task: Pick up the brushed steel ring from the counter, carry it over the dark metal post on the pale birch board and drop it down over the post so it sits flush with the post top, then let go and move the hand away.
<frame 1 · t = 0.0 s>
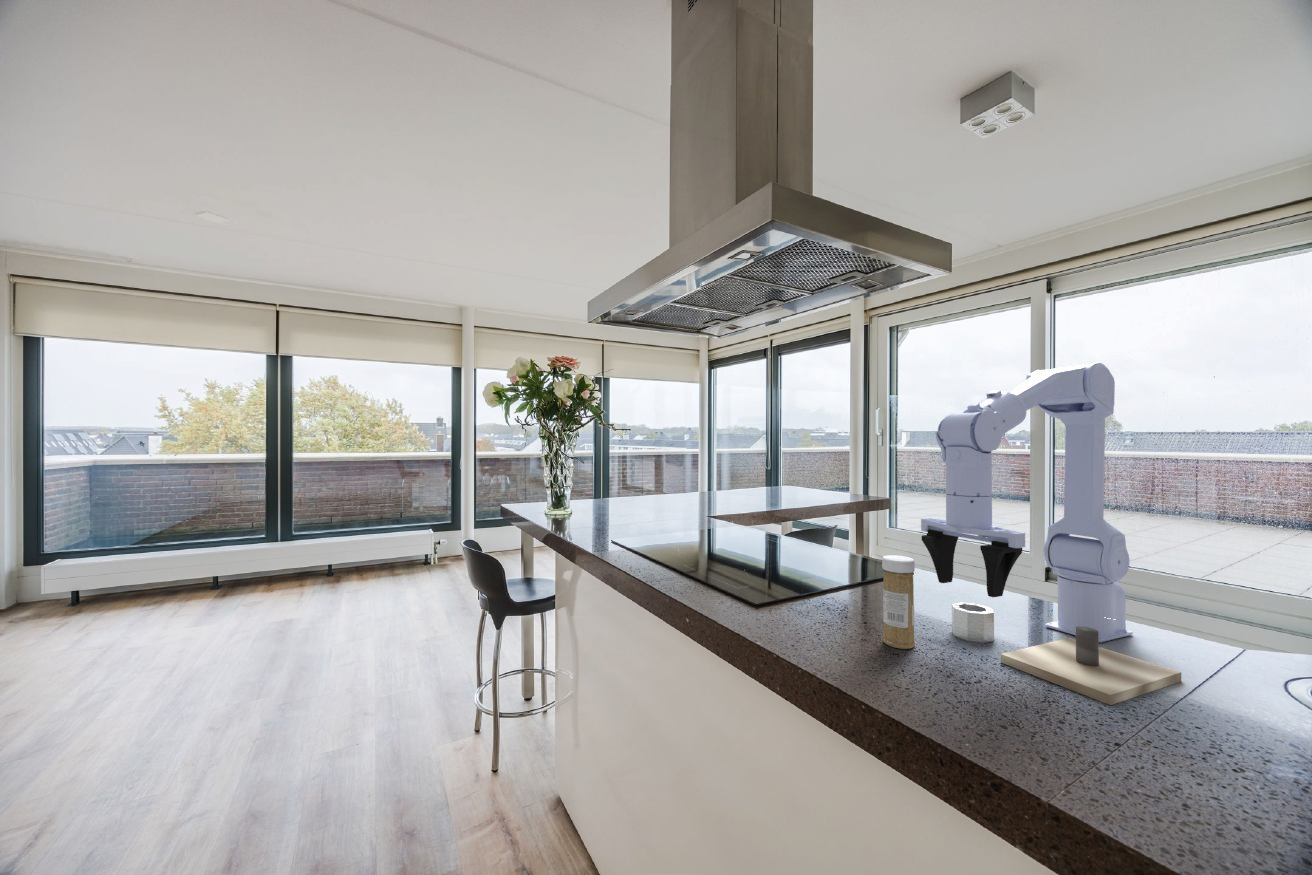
hand: (969, 588, 74), 10 cm above the countertop, tool pointing down, fingers open, 7 cm apart
post board: (1087, 671, 70), on the countertop
steel ring: (972, 635, 83), on the countertop
sprinkles bottle: (898, 645, 80), on the countertop
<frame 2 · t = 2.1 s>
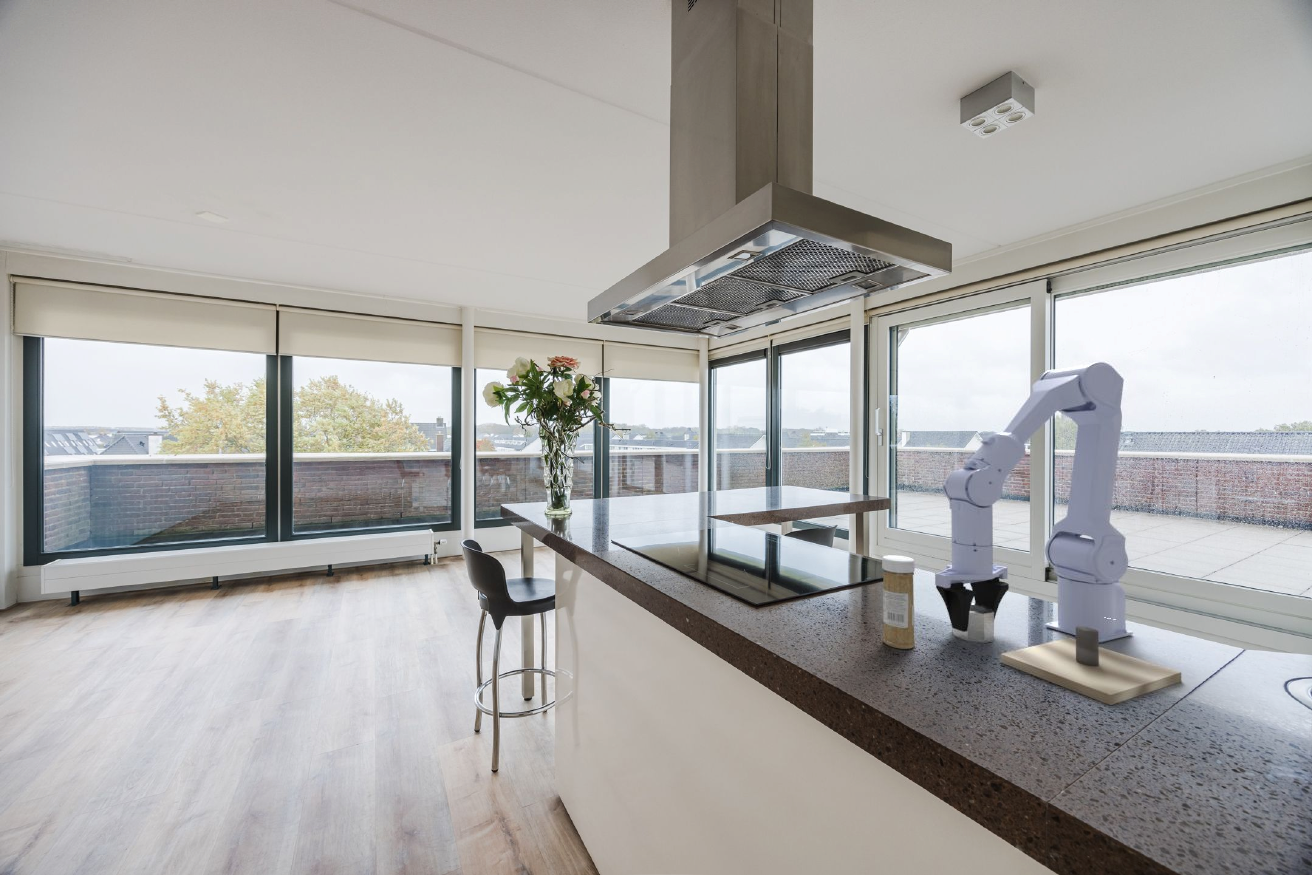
hand: (972, 626, 83), 1 cm above the countertop, tool pointing down, fingers closed on steel ring, 5 cm apart
steel ring: (972, 635, 83), on the countertop, touching gripper
everything else where it was.
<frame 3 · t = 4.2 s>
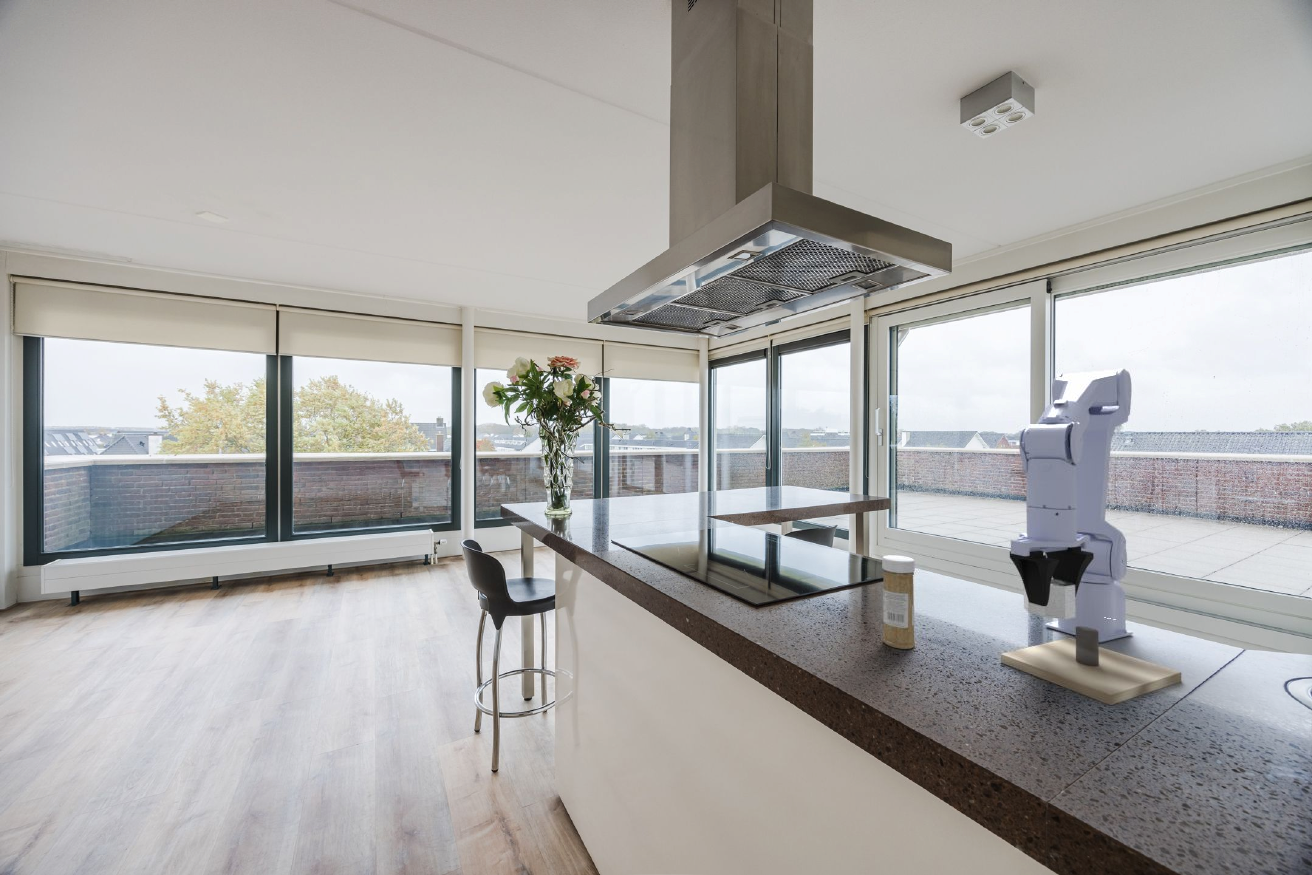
hand: (1051, 601, 74), 8 cm above the countertop, tool pointing down, fingers closed on steel ring, 5 cm apart
steel ring: (1049, 612, 74), point 7 cm above the countertop, touching gripper
everything else where it was.
when the fingers open (4 cm above the countertop, at t = 6.7 s): steel ring drops 2 cm, resting on post board.
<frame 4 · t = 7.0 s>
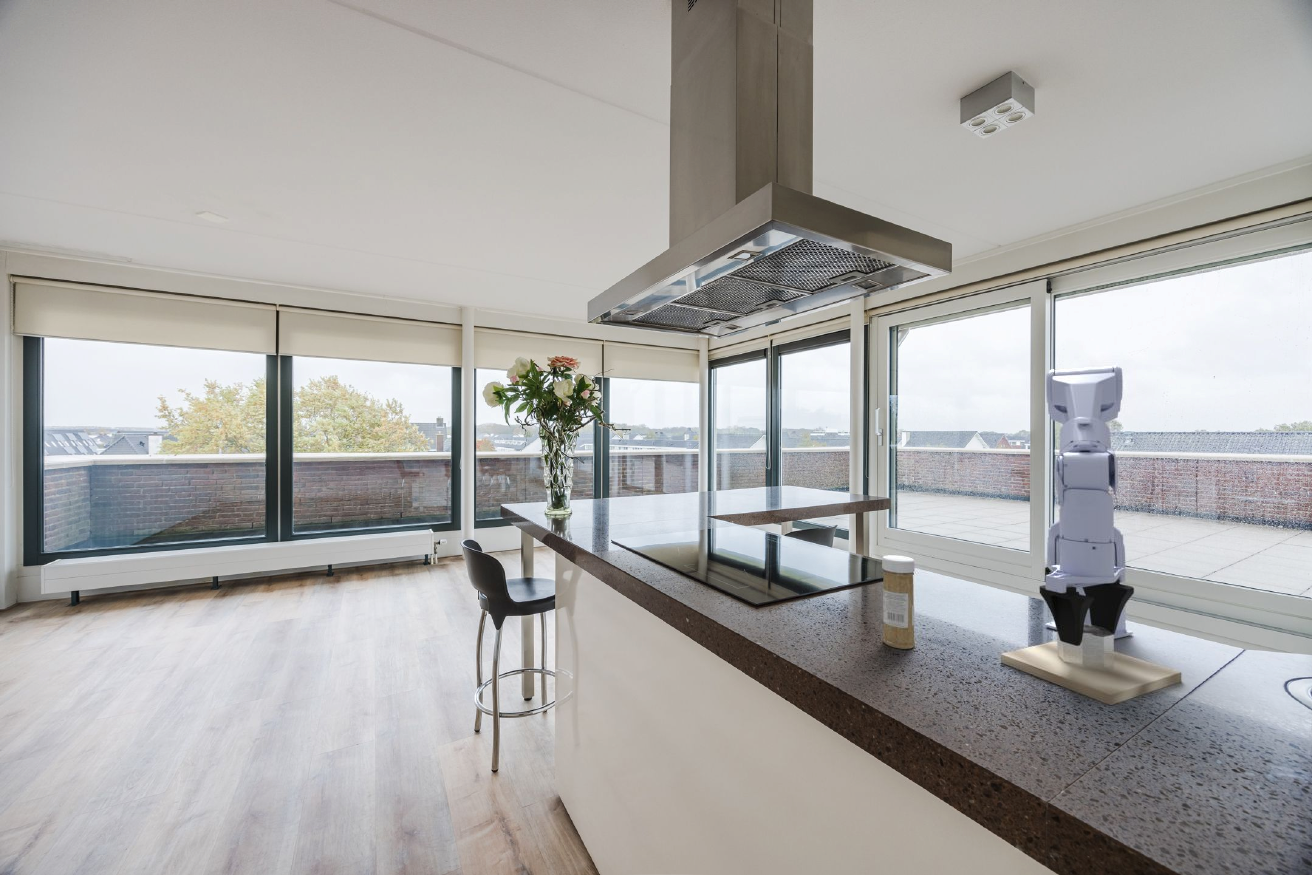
hand: (1087, 639, 70), 4 cm above the countertop, tool pointing down, fingers open, 7 cm apart
steel ring: (1084, 661, 70), point 1 cm above the countertop, touching post board
everything else where it was.
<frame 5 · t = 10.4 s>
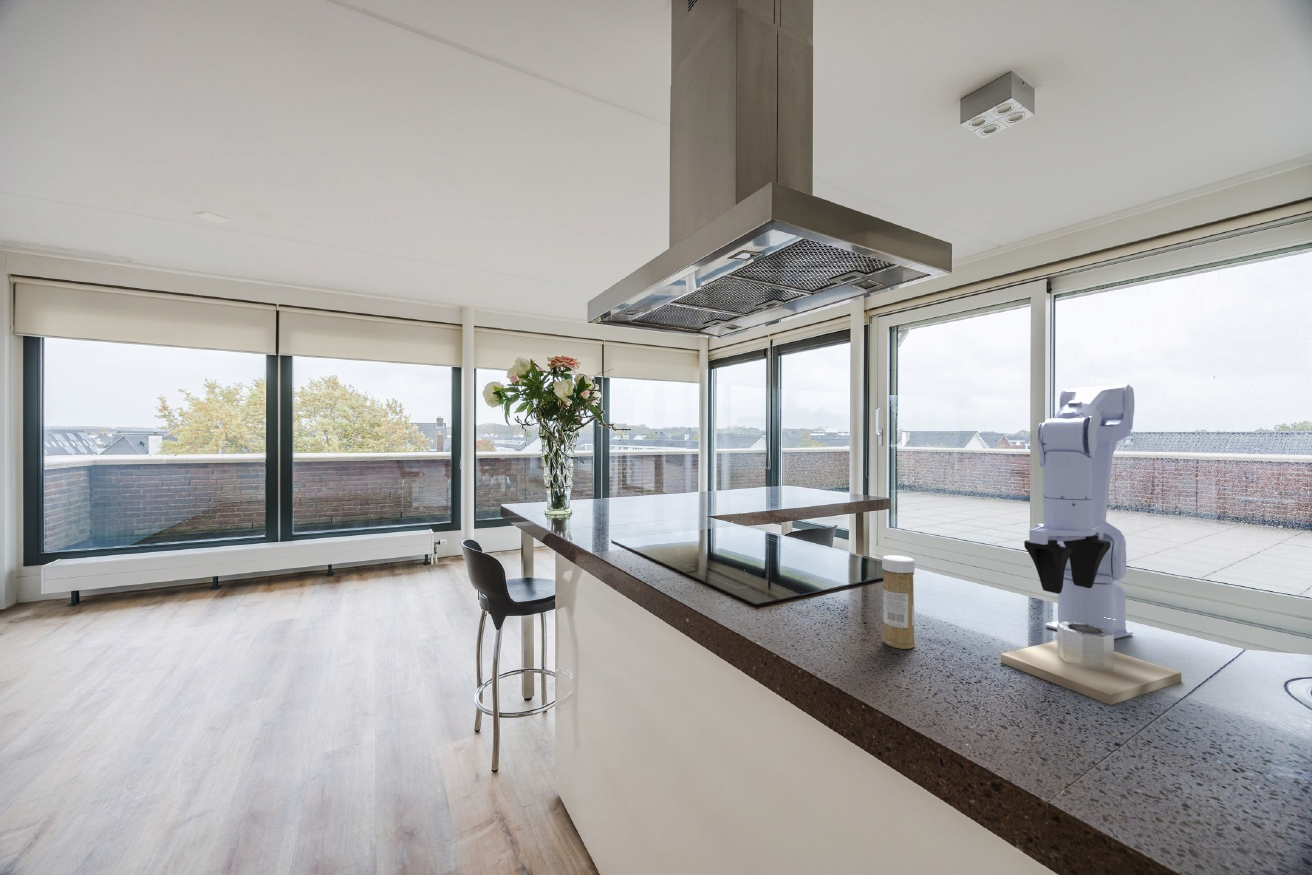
hand: (1067, 589, 77), 9 cm above the countertop, tool pointing down, fingers open, 7 cm apart
nothing on the countertop moved.
at the end: steel ring 0.3 cm off-centre on the post board, point 1.2 cm above the post board's base; steel ring tilted 0°; the gripper is holding nothing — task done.
